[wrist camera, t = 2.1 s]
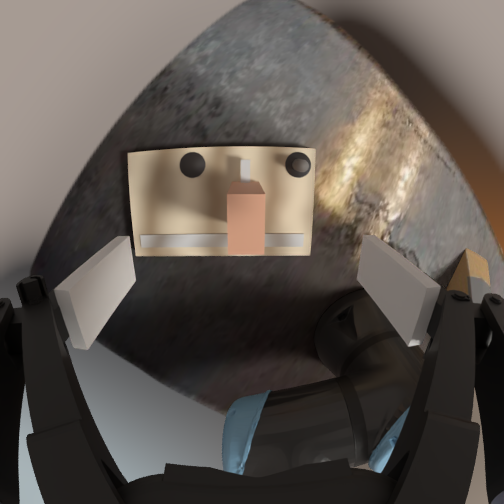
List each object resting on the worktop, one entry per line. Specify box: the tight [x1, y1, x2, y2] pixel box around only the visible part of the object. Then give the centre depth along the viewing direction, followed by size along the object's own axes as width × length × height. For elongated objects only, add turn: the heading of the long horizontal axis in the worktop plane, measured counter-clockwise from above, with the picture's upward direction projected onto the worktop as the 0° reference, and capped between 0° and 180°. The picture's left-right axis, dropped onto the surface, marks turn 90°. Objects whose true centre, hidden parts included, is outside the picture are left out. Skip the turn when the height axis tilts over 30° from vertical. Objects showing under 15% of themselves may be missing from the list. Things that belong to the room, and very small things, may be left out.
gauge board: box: [128, 146, 316, 256], centre depth 32 cm, size 22×13×4 cm, turn 90°
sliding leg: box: [227, 160, 266, 255], centre depth 27 cm, size 3×8×10 cm, turn 0°
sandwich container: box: [446, 248, 491, 303], centre depth 34 cm, size 9×15×15 cm, turn 161°
